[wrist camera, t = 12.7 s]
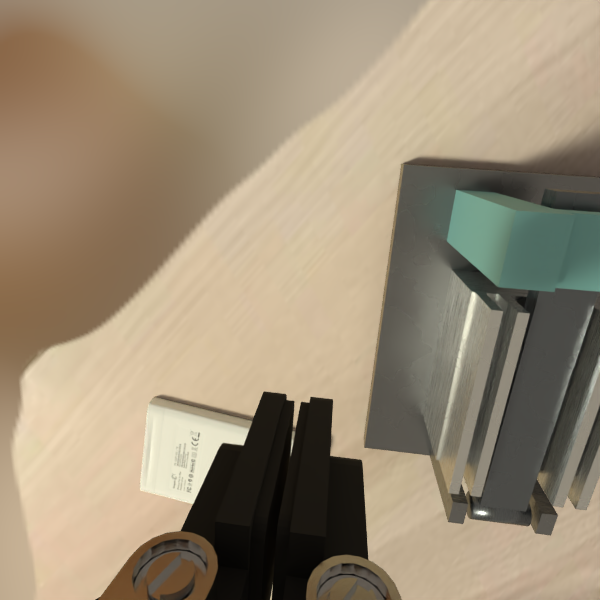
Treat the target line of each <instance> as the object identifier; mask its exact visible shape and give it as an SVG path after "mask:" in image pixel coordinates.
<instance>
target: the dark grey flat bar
mask: <svg viewBox="0 0 600 600" xmlns="http://www.w3.org/2000/svg"><path fill="white" fill-rule="evenodd" d="M541 205H542V206H545V207H549V208H553V209H561V210H575V211H588V212H600V192H588V191H574V190H560V189H544V193H543V197H542V201H541ZM598 293H599V292H598V291H586V290H575V289H563V288H555V292H548V291H537V290H529V291H528V294H527V298H526V302H525V305H524V309H526V310H527V311H528V312H529V313H530V316H529V319H528V323H527V327H526V331H525V334H524V338H523V342H522V346H521V349H520V353H519V357H518V360H517V364H516V368H515V372H514V375H513V379H512V383H511V387H510V390H509V394H508V398H507V401H506V405H505V409H504V413H503V416H502V420H501V424H500V428H499V431H498V435H497V439H496V442H495V446H494V450H493V454H492V457H491V461H490V465H489V469H488V472H487V476H486V480H485V483H484V487H483V491H482V495H481V497H476V496H471V495H470V493H469V491H468V492H467V494H466V499H467V502H468V507H467V511H466V512H467V515H468V517H469V518H470V519H475V520H483V521H490V522H498V523H506V524H514V525H521V526H529V525H530V524H531V520H532V511H531V506H530V503H529V501H530V498H531V495H532V492H533V489H534V486H535V483H536V480H537V477H538V474H539V471H540V468H541V465H542V462H543V459H544V456H545V453H546V450H547V447H548V444H549V441H550V438H551V435H552V432H553V429H554V426H555V423H556V420H557V417H558V414H559V411H560V407H561V404H562V401H563V398H564V395H565V392H566V389H567V386H568V383H569V380H570V377H571V374H572V371H573V368H574V365H575V362H576V359H577V356H578V353H579V350H580V347H581V344H582V341H583V338H584V335H585V332H586V329H587V326H588V323H589V320H590V317H591V314H592V311H593V308H594V305H595V302H596V299H597V296H598Z"/></svg>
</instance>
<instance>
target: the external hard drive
mask: <svg viewBox="0 0 600 600" xmlns="http://www.w3.org/2000/svg"><path fill="white" fill-rule="evenodd" d="M251 424H252V421H251V420H247V419H243V418H239V417H235V416H231V415H226V414H222V413H218V412H214V411H210V410H206V409H202V408H198V407H194V406H190V405H186V404H182V403H178V402H173V401H169V400H166V399H162V398H157V397H154V398H153V399H152V400H151V401H150V403H149V405H148V409H147V419H146V430H145V440H144V450H143V459H142V469H141V479H140V490H141V491H145V492H149V493H152V494H157V495H161V496H164V497H168V498H172V499H176V500H179V501H183V502H187V503H191V504H193V503H194V501H195V499H196V497H197V495H198V492H199V490H200V488H201V486H202V484H203V482H204V479H205V477H206V475H207V473H208V471H209V469H210V466H211V464H212V462H213V460H214V458H215V456H216V453H217V451H218V449H219V447H220V446H221V444H222V443H229V444H237V445H244V443H245V440H246V437H247V435H248V432H249V429H250V427H251ZM294 436H295V431H292V444H291V452H292V447H293V442H294Z"/></svg>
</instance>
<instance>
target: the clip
mask: <svg viewBox="0 0 600 600" xmlns="http://www.w3.org/2000/svg"><path fill="white" fill-rule="evenodd" d="M447 242H448V243H449V244H450V245H451V246H453V247H454V248H455V249H456V250H457V251H458V252H459V253H460V254H462V255H463V256H464V257H465V258H466V259H467V260H468V261H469V262H471V263H472V264H473V265H474V266H475V267H476V268H477V269H478V270H480V271H481V272H482V273H483V274H484V275H485V276H486V277H487V278H489V279H490V280H491V281H492V282H493V283H494V284H495V285H496V286H498V287H502V288H514V289H525V290H537V291H548V292H555V288H563V289H575V290H586V291H598V292H600V212H588V211H575V210H561V209H553V208H549V207H545V206H542V205H538V204H534V203H531V202H527V201H524V200H520V199H516V198H513V197H509V196H506V195H502V194H498V193H495V192H481V191H467V190H456V194H455V199H454V204H453V210H452V215H451V221H450V226H449V232H448V237H447Z"/></svg>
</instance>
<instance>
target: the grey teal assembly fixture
mask: <svg viewBox="0 0 600 600" xmlns="http://www.w3.org/2000/svg"><path fill="white" fill-rule="evenodd" d="M544 189H560V190H574V191H588V192H600V177H589V176H574V175H559V174H544V173H529V172H514V171H499V170H484V169H470V168H455V167H440V166H425V165H410V164H401V172H400V179H399V186H398V193H397V201H396V208H395V215H394V223H393V230H392V237H391V244H390V252H389V259H388V266H387V273H386V281H385V288H384V295H383V303H382V310H381V317H380V324H379V332H378V339H377V346H376V354H375V361H374V368H373V375H372V383H371V390H370V397H369V404H368V412H367V419H366V426H365V434H364V448H372V449H381V450H389V451H397V452H406V453H414V454H423V455H430V458H431V461H432V465H433V469H434V472H435V476H436V480H437V483H438V487H439V490H440V494H441V498H442V501H443V505H444V508H445V512H446V516H447V519H448V522H452V523H460V524H463V523H464V519H465V515H466V511H467V507H468V502H467V499H466V496H465V493H464V490H463V487H462V485H461V482H462V478H463V476H464V479H465V482H466V484H467V487H468V490H469V493H470V495H471V496H476V497H481V495H482V491H483V487H484V483H485V480H486V476H487V472H488V469H489V465H490V461H491V457H492V454H493V450H494V446H495V442H496V439H497V435H498V431H499V428H500V424H501V420H502V416H503V413H504V409H505V405H506V401H507V398H508V394H509V390H510V387H511V383H512V379H513V375H514V372H515V368H516V364H517V360H518V357H519V353H520V349H521V346H522V342H523V338H524V334H525V331H526V327H527V323H528V319H529V316H530V313H529V312H528V311H527V310H526V309H524V305H525V302H526V298H527V294H528V291H529V290H525V289H514V288H502V287H498V286H496V285H495V284H494V283H493V282H492V281H491V280H490V279H489V278H487V277H486V276H485V275H484V274H483V273H482V272H481V271H480V270H478V269H477V268H476V267H475V266H474V265H473V264H472V263H471V262H469V261H468V260H467V259H466V258H465V257H464V256H463V255H462V254H460V253H459V252H458V251H457V250H456V249H455V248H454V247H453V246H451V245H450V244H449V243H448V242H447V237H448V232H449V226H450V221H451V215H452V210H453V204H454V199H455V194H456V190H467V191H481V192H495V193H498V194H502V195H506V196H509V197H513V198H516V199H520V200H524V201H527V202H531V203H534V204H538V205H541V201H542V197H543V193H544ZM599 476H600V292H599V293H598V296H597V299H596V302H595V305H594V308H593V311H592V314H591V317H590V320H589V323H588V326H587V329H586V332H585V335H584V338H583V341H582V344H581V347H580V350H579V353H578V356H577V359H576V362H575V365H574V368H573V371H572V374H571V377H570V380H569V383H568V386H567V389H566V392H565V395H564V398H563V401H562V404H561V407H560V411H559V414H558V417H557V420H556V423H555V426H554V429H553V432H552V435H551V438H550V441H549V444H548V447H547V450H546V453H545V456H544V459H543V462H542V465H541V468H540V471H539V474H538V477H537V480H536V483H535V486H534V489H533V492H532V495H531V498H530V501H529V503H530V506H531V511H532V520H531V525H532V528H533V530H534V532H535V533H537V534H545V535H551V533H552V531H553V528H554V525H555V522H556V519H557V516H558V515H557V513H556V511H555V510H554V508H553V506H556V507H564V504H565V501H566V498H567V496H568V498H569V499H570V501H571V502H572V504H573V505H574V507H575V509H580V510H587V507H588V505H589V502H590V499H591V497H592V494H593V492H594V489H595V486H596V484H597V481H598V479H599ZM539 483H540V484H539ZM540 485H541V486H540ZM542 488H543V489H542ZM543 490H544V491H543ZM546 495H547V496H546ZM547 497H548V498H547ZM549 500H550V501H549ZM550 502H551V503H550Z"/></svg>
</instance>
